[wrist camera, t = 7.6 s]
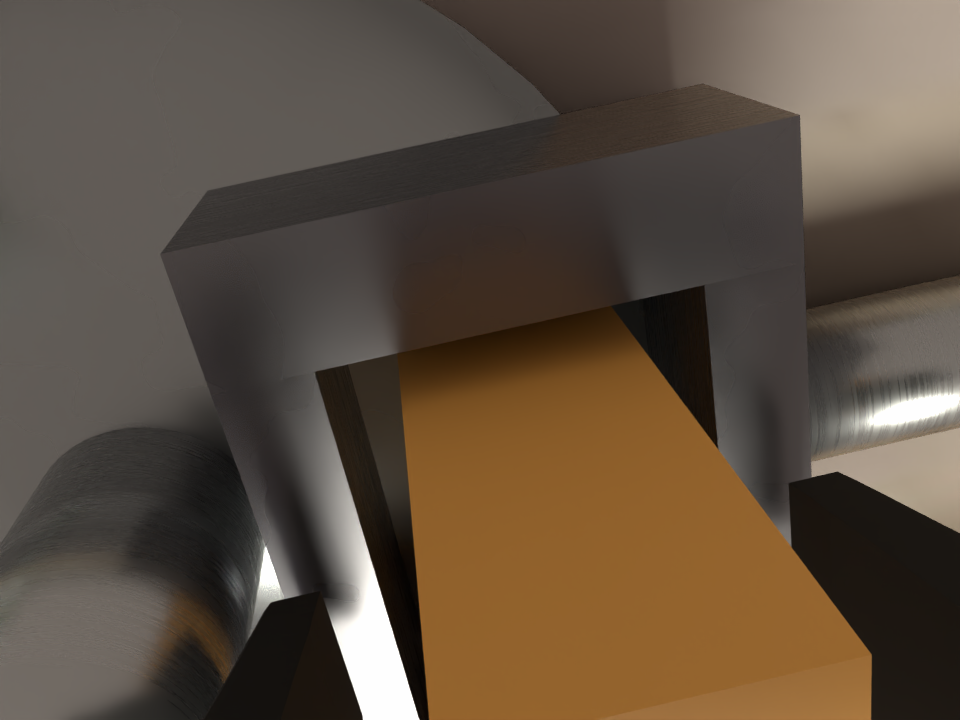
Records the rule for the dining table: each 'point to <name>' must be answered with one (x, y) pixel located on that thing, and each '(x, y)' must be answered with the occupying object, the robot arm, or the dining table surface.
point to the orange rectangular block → (601, 545)
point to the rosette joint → (355, 317)
